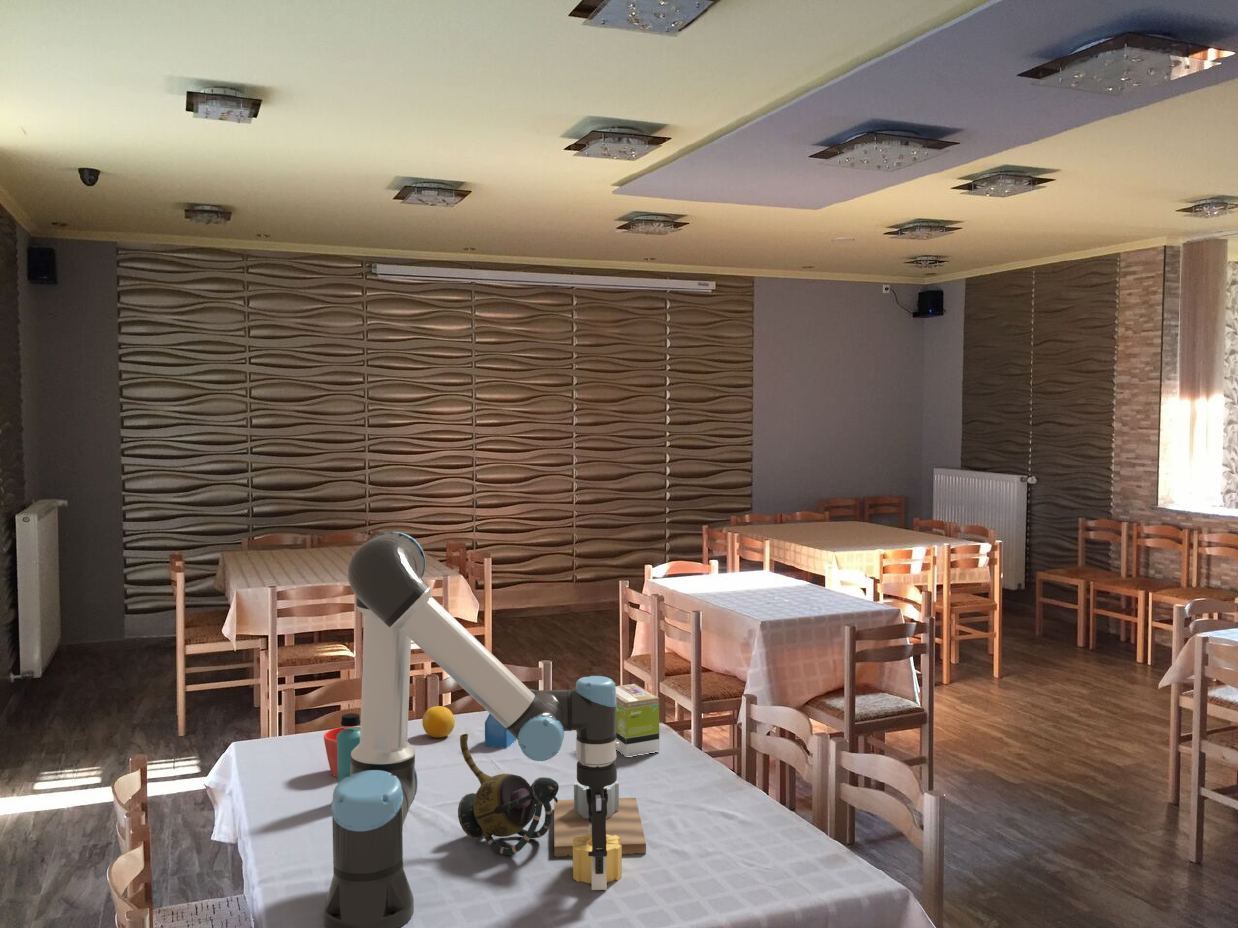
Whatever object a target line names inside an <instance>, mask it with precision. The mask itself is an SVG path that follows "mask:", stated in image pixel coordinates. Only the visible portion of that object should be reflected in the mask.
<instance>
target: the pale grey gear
mask: <svg viewBox="0 0 1238 928" xmlns="http://www.w3.org/2000/svg"><path fill="white" fill-rule="evenodd" d="M619 786H620V783H619V780H616V782H615V783H613V784H612V785H609V786H606V787H604V788H607V793H608V803H607V817H606V818H609V817H612V814H613V813H614V812H615V811H619V798H620V795H619V794H620V793H619V791H620V790H619V789H620V787H619ZM586 789H589V786H583V785H581V784H580V783H579V782H578V781H577V780H576V781H574V782H573V799H574V812H578V813H579V814H580V815H582V816H583V818H587V819H588V818H589V814H588V804H587V798H586Z"/></svg>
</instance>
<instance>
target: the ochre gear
mask: <svg viewBox="0 0 1238 928" xmlns="http://www.w3.org/2000/svg"><path fill="white" fill-rule="evenodd" d="M601 849H602V848H601ZM606 851H607V856H606V866H607V883H610V882H612V881H613V882H614V881H619V880H620V879H621V878H622V877H623V875H622V871H623V870H622V869H623V868H622V867H623V865H622V863H623V862H622V859H623V857H622V855H623V854H622V845H620V837H618V836H616V835H614V836H612V835H607V834H606ZM588 852H592V834H588V835H584V836H581V837H578V836H577V837H575V838H574V839H573V856H572V871H573V873H572V874H573V875H572V876H573V879H574V880H575V881H576V882H577V883H579V882H584V883H588V884H591V885H592V873H591V856H588Z"/></svg>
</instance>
